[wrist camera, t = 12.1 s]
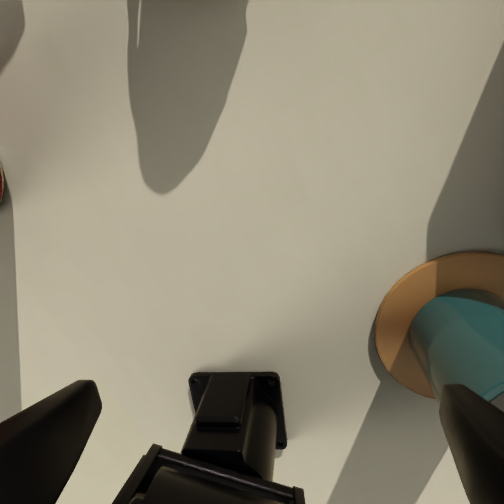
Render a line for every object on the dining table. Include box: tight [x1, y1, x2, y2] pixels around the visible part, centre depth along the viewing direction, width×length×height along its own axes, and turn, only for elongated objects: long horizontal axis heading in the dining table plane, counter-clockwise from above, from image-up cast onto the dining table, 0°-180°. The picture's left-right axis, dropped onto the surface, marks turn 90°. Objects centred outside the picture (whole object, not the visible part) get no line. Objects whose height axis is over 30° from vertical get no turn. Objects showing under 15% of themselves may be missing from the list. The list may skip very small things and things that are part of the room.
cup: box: [409, 289, 504, 412], centre depth 16 cm, size 6×6×7 cm
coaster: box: [374, 252, 504, 399], centre depth 19 cm, size 10×10×1 cm
